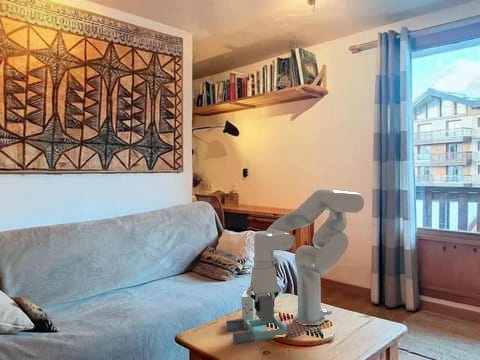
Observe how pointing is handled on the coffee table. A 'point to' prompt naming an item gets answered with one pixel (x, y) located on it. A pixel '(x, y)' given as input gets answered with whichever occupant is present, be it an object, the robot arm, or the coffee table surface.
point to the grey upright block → (265, 308)
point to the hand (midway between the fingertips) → (264, 309)
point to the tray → (264, 329)
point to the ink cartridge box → (248, 307)
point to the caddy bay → (239, 336)
